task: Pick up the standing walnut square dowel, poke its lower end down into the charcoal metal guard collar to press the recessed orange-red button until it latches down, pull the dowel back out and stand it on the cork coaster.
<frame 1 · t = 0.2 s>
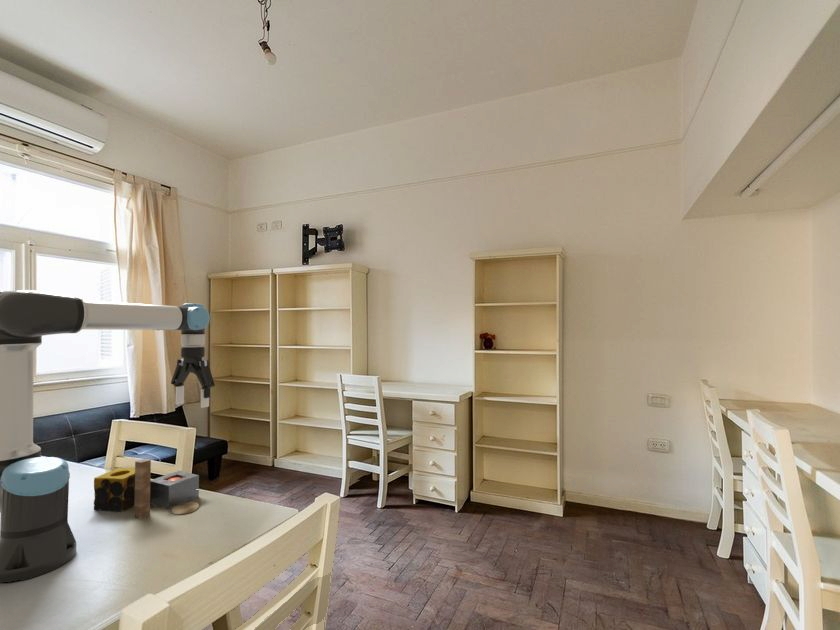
hand: (192, 405, 146), 28 cm above the table, fingers open, 13 cm apart
button: (174, 485, 131), point 4 cm above the table, slide at 0.0 cm
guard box: (174, 499, 131), on the table
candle: (121, 505, 128), on the table
dowel: (142, 515, 120), on the table
coaster: (185, 509, 124), on the table
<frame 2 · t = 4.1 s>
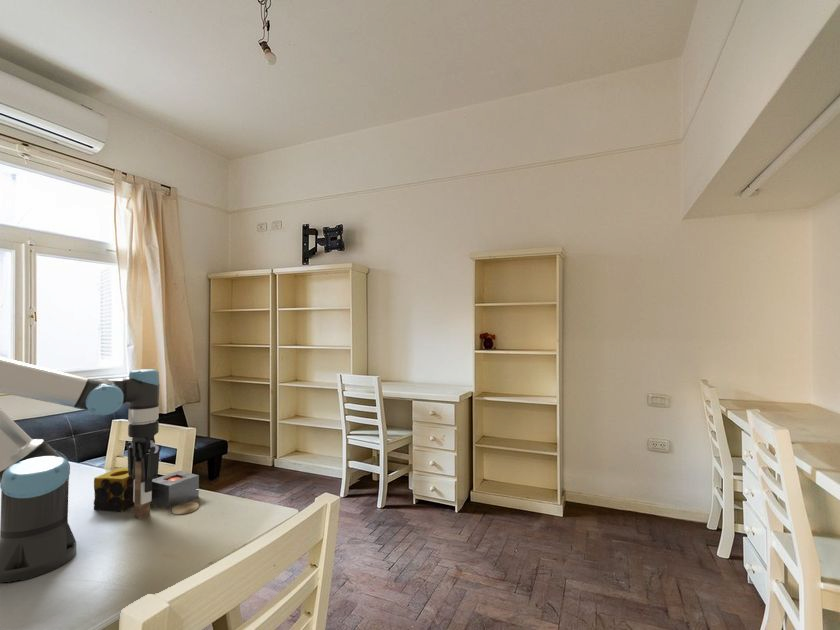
hand: (142, 501, 121), 4 cm above the table, fingers closed on dowel, 3 cm apart
dowel: (142, 515, 120), on the table, touching gripper
everything else where it was.
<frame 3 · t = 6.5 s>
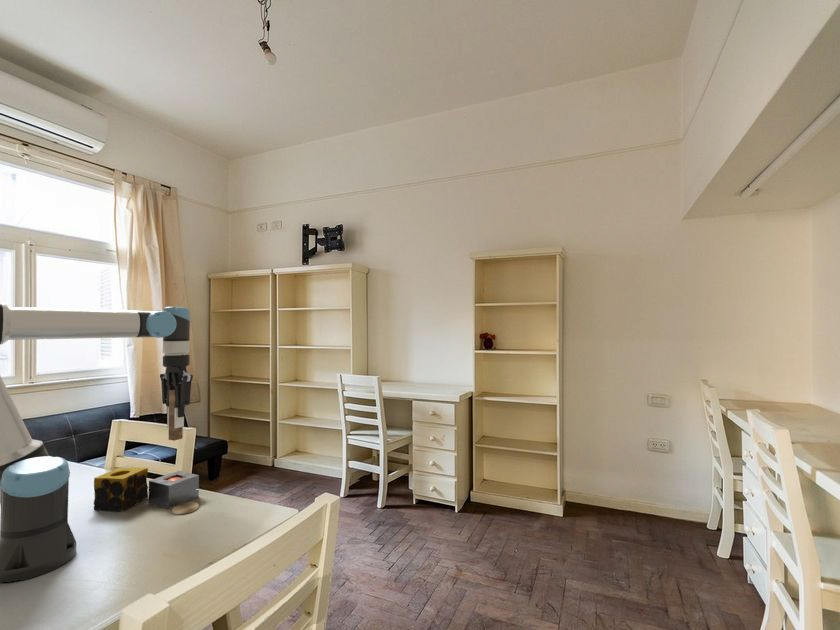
hand: (175, 426, 132), 23 cm above the table, fingers closed on dowel, 3 cm apart
dowel: (175, 439, 132), point 19 cm above the table, touching gripper
everything else where it was.
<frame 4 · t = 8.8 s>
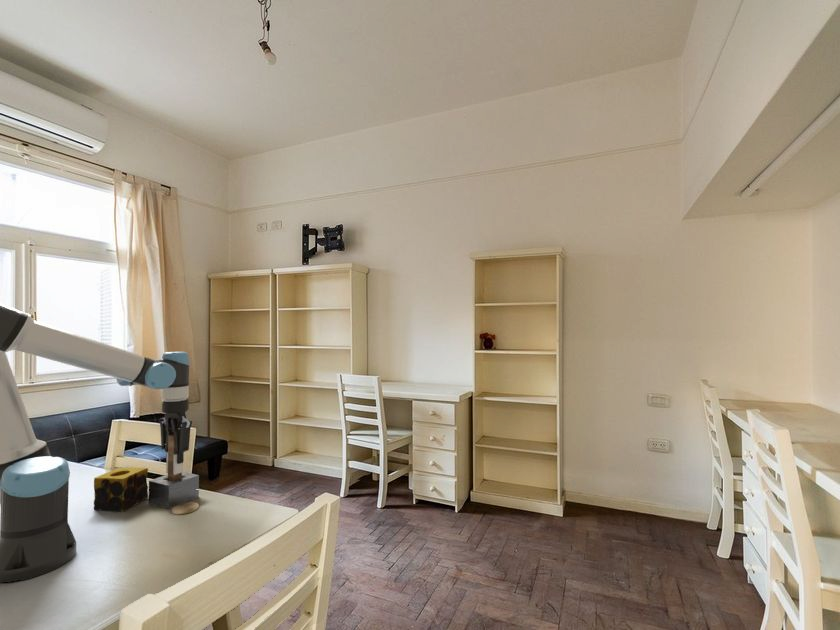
hand: (174, 472, 132), 9 cm above the table, fingers closed on dowel, 3 cm apart
button: (174, 491, 131), point 3 cm above the table, slide at 1.8 cm, touching dowel
dowel: (174, 484, 132), point 5 cm above the table, touching button, gripper
everything else where it was.
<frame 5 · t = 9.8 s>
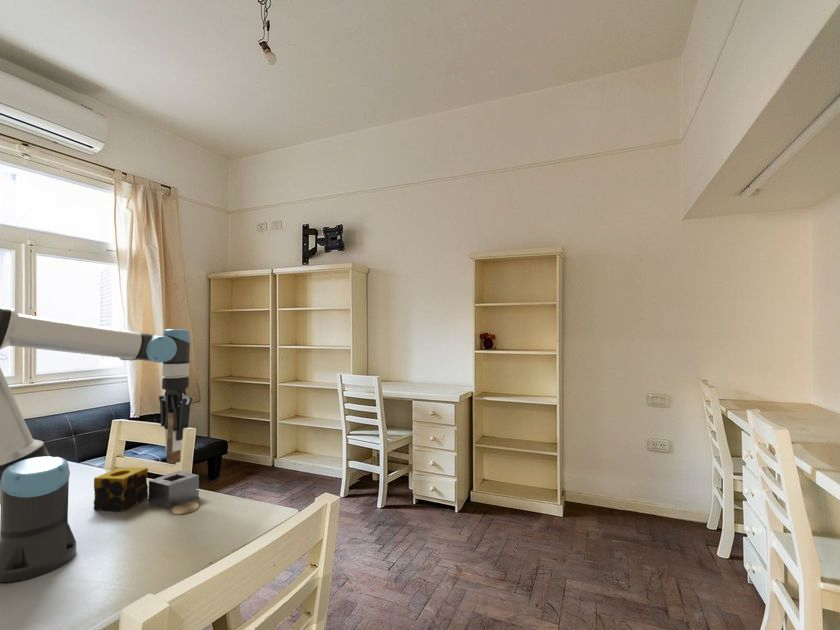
hand: (173, 449, 132), 16 cm above the table, fingers closed on dowel, 3 cm apart
button: (174, 491, 131), point 3 cm above the table, slide at 1.8 cm
dowel: (173, 462, 131), point 12 cm above the table, touching gripper
everything else where it was.
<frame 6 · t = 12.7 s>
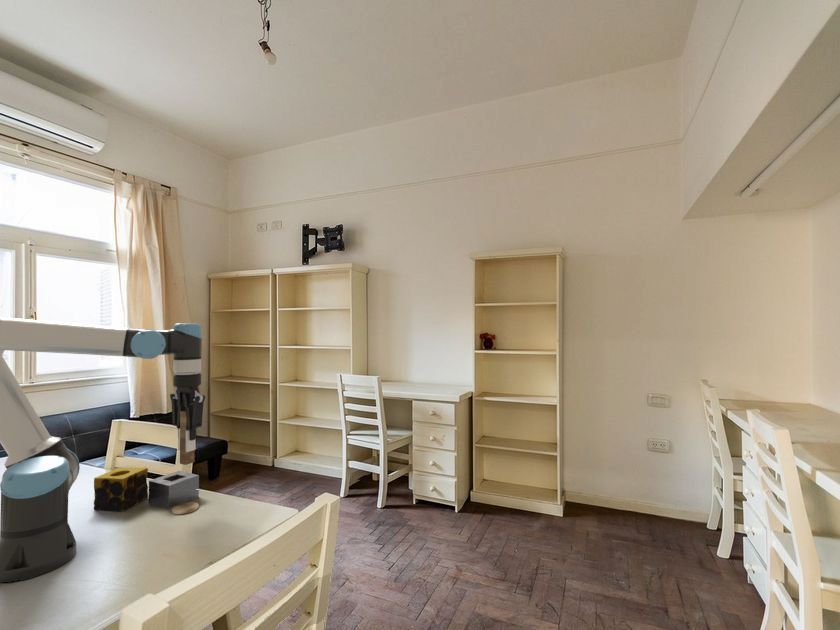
hand: (186, 449, 125), 18 cm above the table, fingers closed on dowel, 3 cm apart
dowel: (187, 462, 125), point 14 cm above the table, touching gripper
everything else where it was.
when the fingers open (5 cm above the table, at t = 15.5 s): dowel stays where it is, resting on coaster.
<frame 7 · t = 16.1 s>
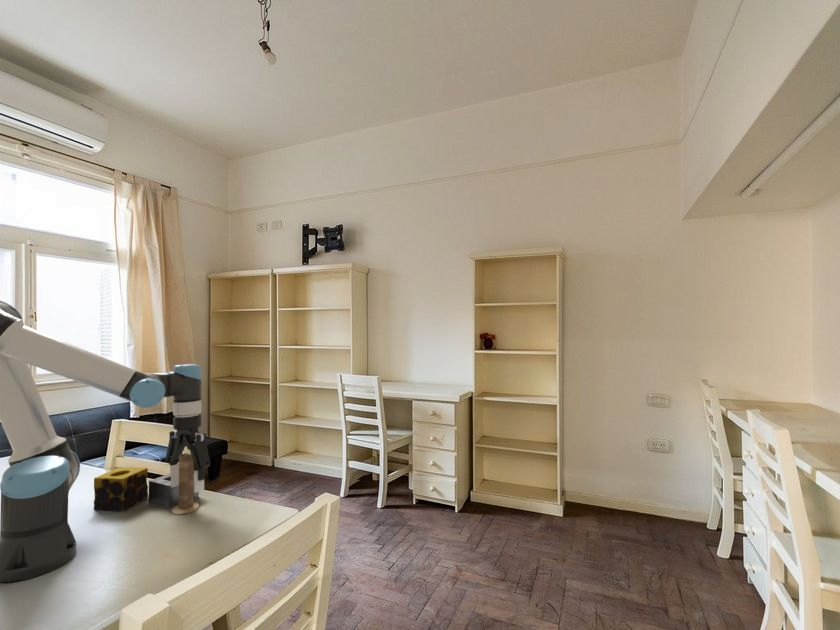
hand: (187, 488, 124), 7 cm above the table, fingers open, 10 cm apart
dowel: (185, 507, 124), point 1 cm above the table, touching coaster
everything else where it was.
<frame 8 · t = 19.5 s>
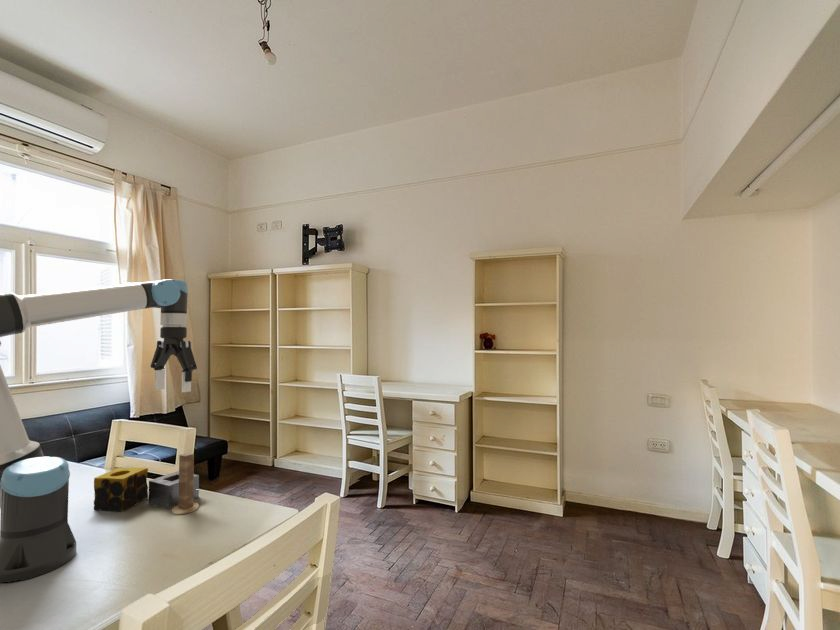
hand: (172, 390, 135), 35 cm above the table, fingers open, 13 cm apart
nothing on the table moved.
at the end: button slide at 1.8 cm; dowel 0.1 cm from the coaster (horizontally); the gripper is holding nothing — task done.
